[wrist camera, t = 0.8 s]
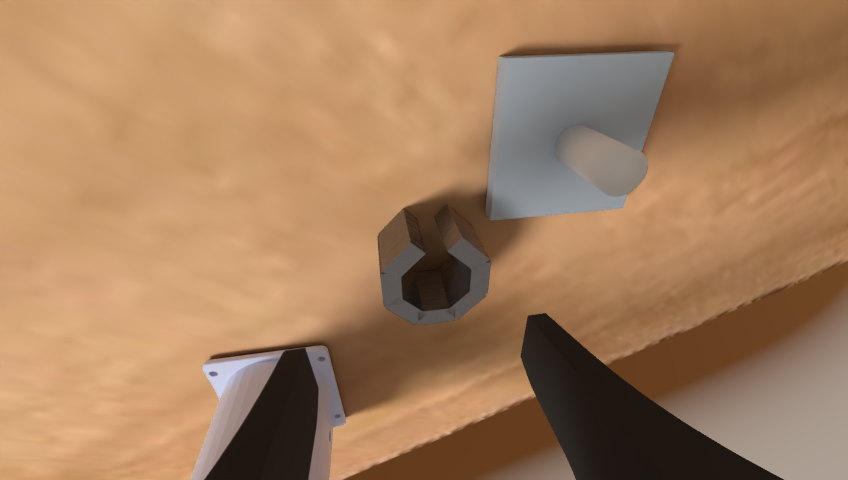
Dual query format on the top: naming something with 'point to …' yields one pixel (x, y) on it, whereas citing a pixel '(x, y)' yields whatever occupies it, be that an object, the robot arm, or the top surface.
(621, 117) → the post stand
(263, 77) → the top surface
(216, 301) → the top surface
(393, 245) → the snap ring
